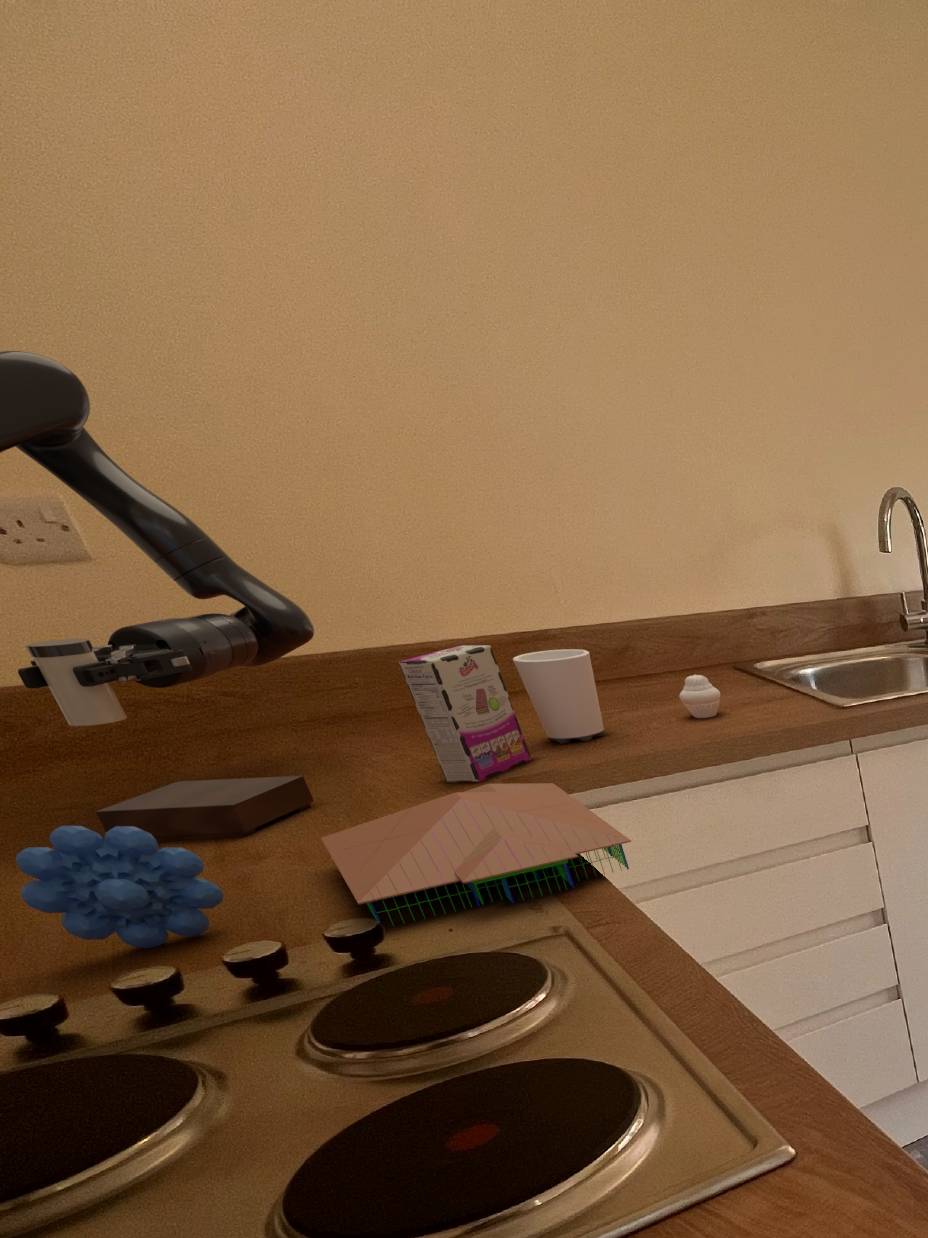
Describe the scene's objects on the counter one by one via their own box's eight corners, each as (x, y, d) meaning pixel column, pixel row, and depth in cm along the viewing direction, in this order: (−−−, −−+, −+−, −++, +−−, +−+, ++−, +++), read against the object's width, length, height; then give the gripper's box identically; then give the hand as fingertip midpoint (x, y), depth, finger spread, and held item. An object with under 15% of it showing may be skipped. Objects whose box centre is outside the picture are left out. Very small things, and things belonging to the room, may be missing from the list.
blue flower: (60, 983, 88) (-21, 851, 83) (65, 958, 93) (-11, 831, 87) (242, 942, 96) (179, 818, 90) (239, 920, 100) (179, 801, 95)
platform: (112, 844, 120) (94, 811, 118) (193, 812, 130) (177, 781, 128) (248, 837, 122) (232, 804, 120) (316, 805, 132) (303, 775, 130)
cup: (596, 727, 168) (572, 646, 162) (625, 736, 163) (601, 653, 157) (528, 740, 161) (500, 656, 155) (556, 749, 156) (528, 663, 150)
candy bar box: (499, 760, 150) (458, 644, 143) (533, 760, 150) (493, 644, 143) (442, 783, 140) (395, 659, 133) (478, 783, 140) (433, 659, 133)
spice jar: (55, 727, 119) (11, 647, 115) (93, 717, 124) (52, 639, 120) (104, 725, 120) (62, 645, 116) (140, 715, 124) (101, 638, 120)
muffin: (700, 711, 178) (689, 670, 174) (733, 712, 177) (723, 670, 174) (676, 720, 172) (665, 677, 169) (710, 721, 171) (699, 678, 168)
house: (377, 944, 95) (340, 861, 91) (327, 856, 116) (296, 785, 112) (648, 875, 109) (626, 801, 106) (561, 808, 130) (540, 744, 127)
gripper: (94, 622, 129) (-40, 646, 114) (222, 619, 131) (107, 642, 116) (124, 683, 133) (-2, 714, 118) (249, 679, 135) (140, 709, 119)
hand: (53, 678), depth 117 cm, fingers closed on spice jar, 5 cm apart
